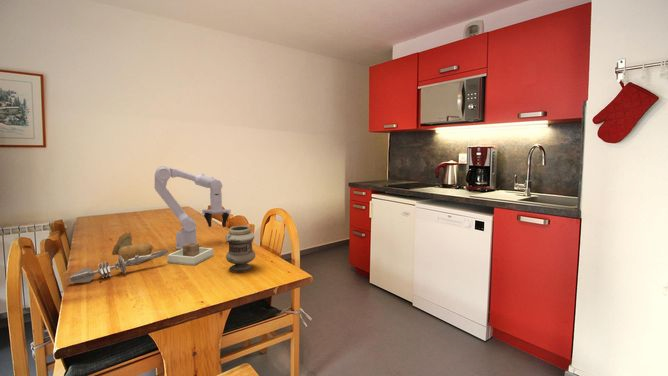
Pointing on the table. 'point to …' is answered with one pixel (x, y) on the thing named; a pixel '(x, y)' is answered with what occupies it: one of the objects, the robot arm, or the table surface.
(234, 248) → the apothecary jar
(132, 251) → the potato
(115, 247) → the rock
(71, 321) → the table surface
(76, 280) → the spaceship
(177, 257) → the sage tray
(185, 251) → the walnut block
